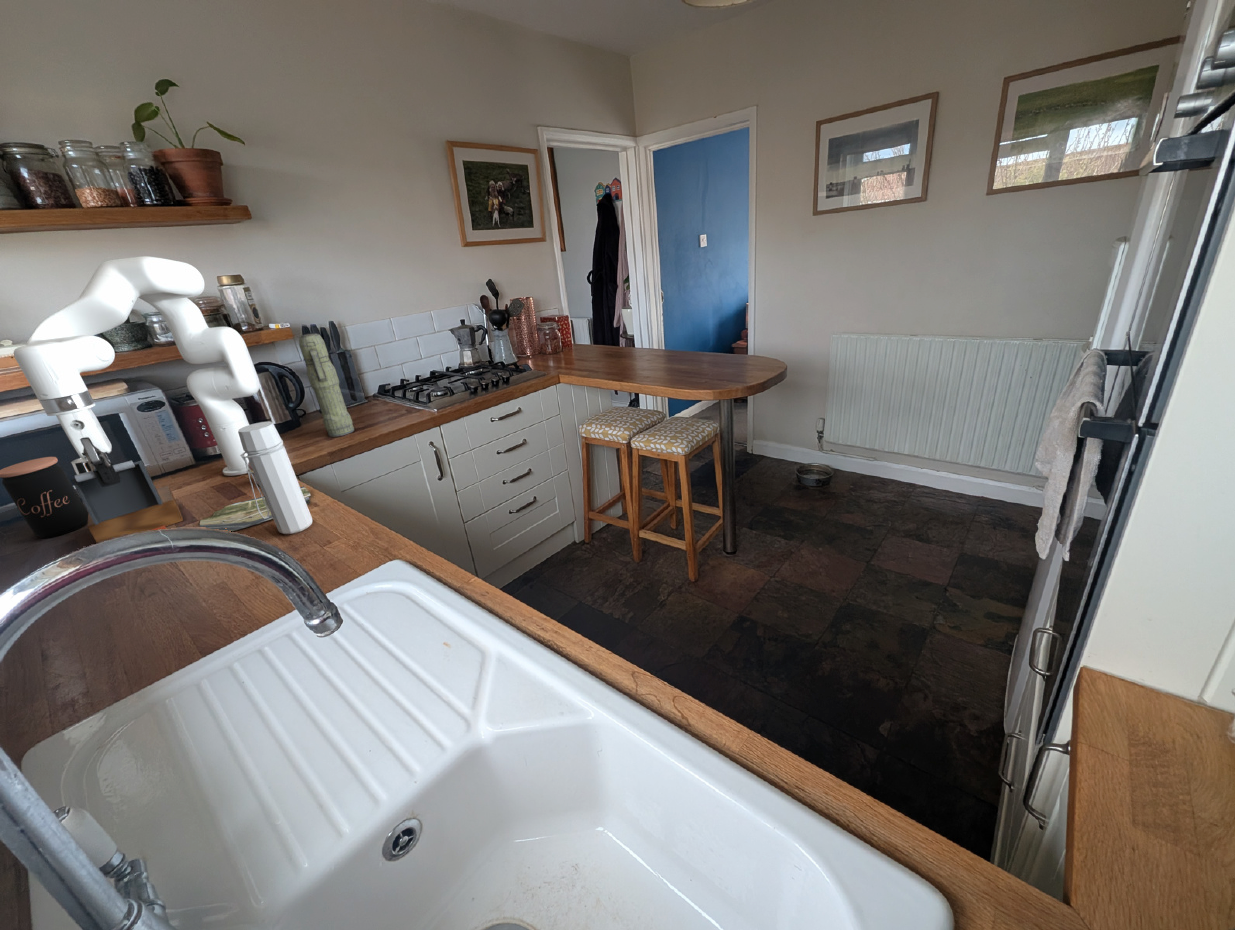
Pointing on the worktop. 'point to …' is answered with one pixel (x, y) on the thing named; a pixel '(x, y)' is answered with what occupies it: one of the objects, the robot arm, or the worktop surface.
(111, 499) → the basket
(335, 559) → the worktop surface
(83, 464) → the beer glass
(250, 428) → the water bottle
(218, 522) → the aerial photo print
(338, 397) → the thermos
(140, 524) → the riser
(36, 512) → the coffee jar
